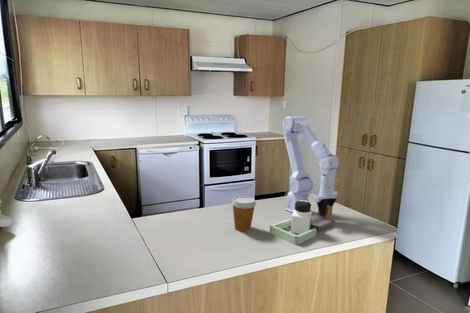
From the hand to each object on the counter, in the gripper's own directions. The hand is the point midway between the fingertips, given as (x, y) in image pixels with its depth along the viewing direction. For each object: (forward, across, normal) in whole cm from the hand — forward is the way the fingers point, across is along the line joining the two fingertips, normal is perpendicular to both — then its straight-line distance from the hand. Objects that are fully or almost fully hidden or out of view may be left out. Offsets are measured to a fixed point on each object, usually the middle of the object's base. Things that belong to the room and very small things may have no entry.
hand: (324, 214), depth 138 cm
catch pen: (+3, -21, 0) cm, 21 cm away
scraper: (+3, -5, 0) cm, 5 cm away
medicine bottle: (+3, -16, 0) cm, 16 cm away
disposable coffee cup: (+3, -33, +16) cm, 37 cm away
